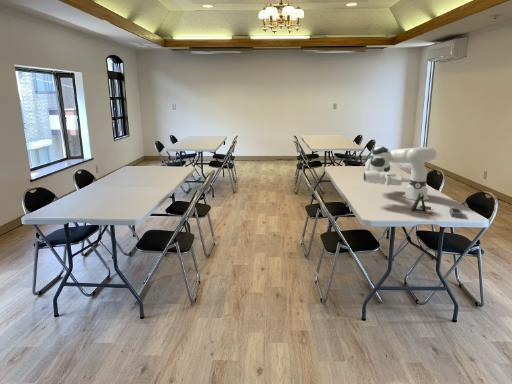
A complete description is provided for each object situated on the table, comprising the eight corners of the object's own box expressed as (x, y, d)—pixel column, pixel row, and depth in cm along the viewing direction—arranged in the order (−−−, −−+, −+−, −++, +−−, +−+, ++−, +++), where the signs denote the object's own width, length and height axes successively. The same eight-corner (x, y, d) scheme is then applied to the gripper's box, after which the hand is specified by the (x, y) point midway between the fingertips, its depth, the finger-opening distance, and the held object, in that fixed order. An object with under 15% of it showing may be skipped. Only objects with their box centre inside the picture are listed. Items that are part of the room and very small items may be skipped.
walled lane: (419, 207, 267) (420, 205, 267) (430, 208, 265) (431, 206, 265) (420, 213, 253) (421, 211, 252) (432, 215, 251) (432, 213, 250)
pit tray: (449, 211, 260) (450, 207, 259) (459, 213, 257) (460, 208, 257) (451, 216, 249) (452, 212, 248) (462, 218, 247) (463, 213, 246)
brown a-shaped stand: (425, 210, 262) (427, 193, 259) (426, 212, 256) (429, 195, 253) (411, 208, 265) (413, 191, 261) (412, 210, 259) (414, 193, 256)
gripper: (387, 179, 273) (408, 182, 268) (386, 186, 254) (408, 188, 250) (388, 171, 271) (409, 173, 267) (387, 176, 253) (410, 179, 248)
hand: (409, 180), depth 258 cm, fingers closed
